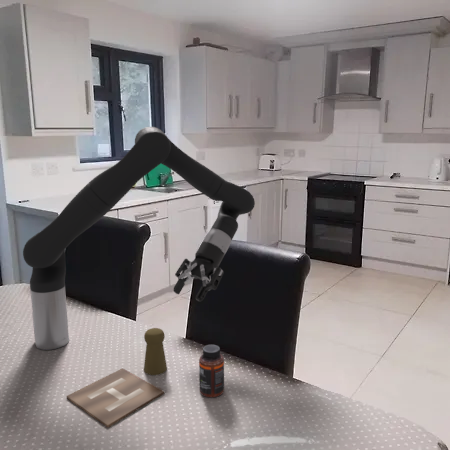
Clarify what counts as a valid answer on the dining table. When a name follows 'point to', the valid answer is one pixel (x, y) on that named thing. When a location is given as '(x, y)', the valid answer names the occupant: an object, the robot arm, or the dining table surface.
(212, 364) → the supplement bottle
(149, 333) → the olive pawn figure
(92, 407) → the board
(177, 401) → the dining table surface
